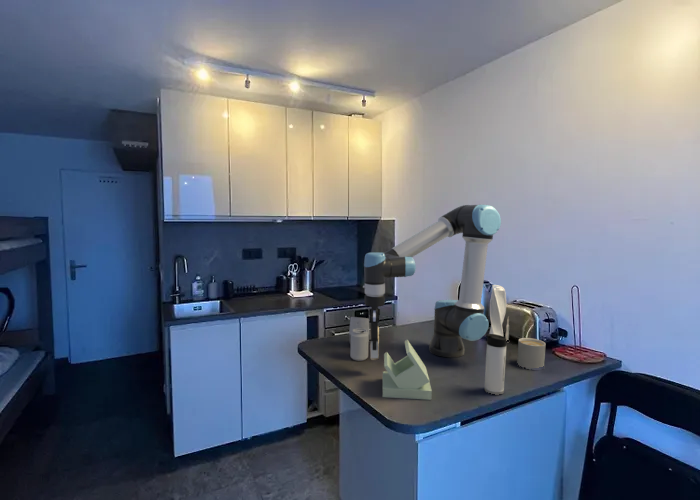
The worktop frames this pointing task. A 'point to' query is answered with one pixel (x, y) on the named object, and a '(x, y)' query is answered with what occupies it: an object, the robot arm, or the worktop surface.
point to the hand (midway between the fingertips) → (374, 355)
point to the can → (359, 344)
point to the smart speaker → (358, 325)
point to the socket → (406, 377)
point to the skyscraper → (498, 311)
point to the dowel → (378, 346)
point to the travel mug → (495, 364)
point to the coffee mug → (531, 353)
